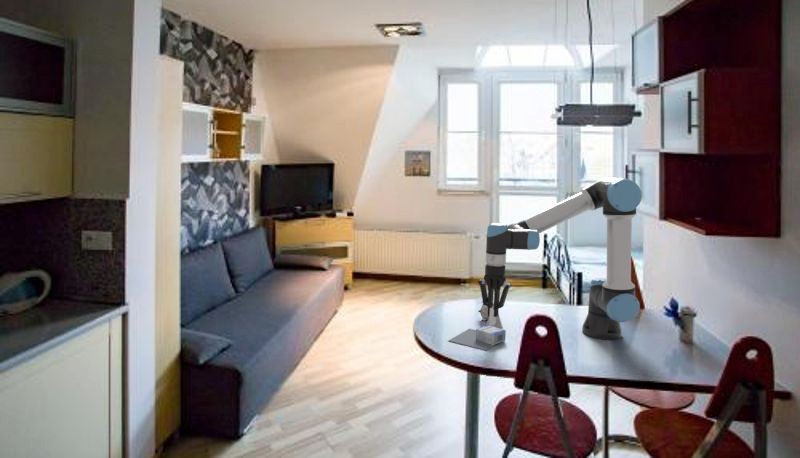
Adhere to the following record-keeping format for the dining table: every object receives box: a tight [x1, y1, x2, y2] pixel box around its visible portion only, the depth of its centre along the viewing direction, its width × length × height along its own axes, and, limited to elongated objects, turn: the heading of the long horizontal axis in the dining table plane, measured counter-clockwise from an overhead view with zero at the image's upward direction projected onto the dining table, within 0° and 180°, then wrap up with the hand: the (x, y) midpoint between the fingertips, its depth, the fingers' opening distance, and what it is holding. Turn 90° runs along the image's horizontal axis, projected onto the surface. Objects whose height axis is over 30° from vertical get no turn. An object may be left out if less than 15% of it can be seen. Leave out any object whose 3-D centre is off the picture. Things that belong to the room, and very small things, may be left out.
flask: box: [485, 302, 503, 329], centre depth 228 cm, size 7×7×10 cm
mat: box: [448, 328, 495, 351], centre depth 213 cm, size 16×18×1 cm
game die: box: [477, 301, 489, 322], centre depth 237 cm, size 9×8×10 cm
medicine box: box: [475, 325, 507, 346], centre depth 211 cm, size 8×4×9 cm
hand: (492, 324), depth 209 cm, fingers closed
